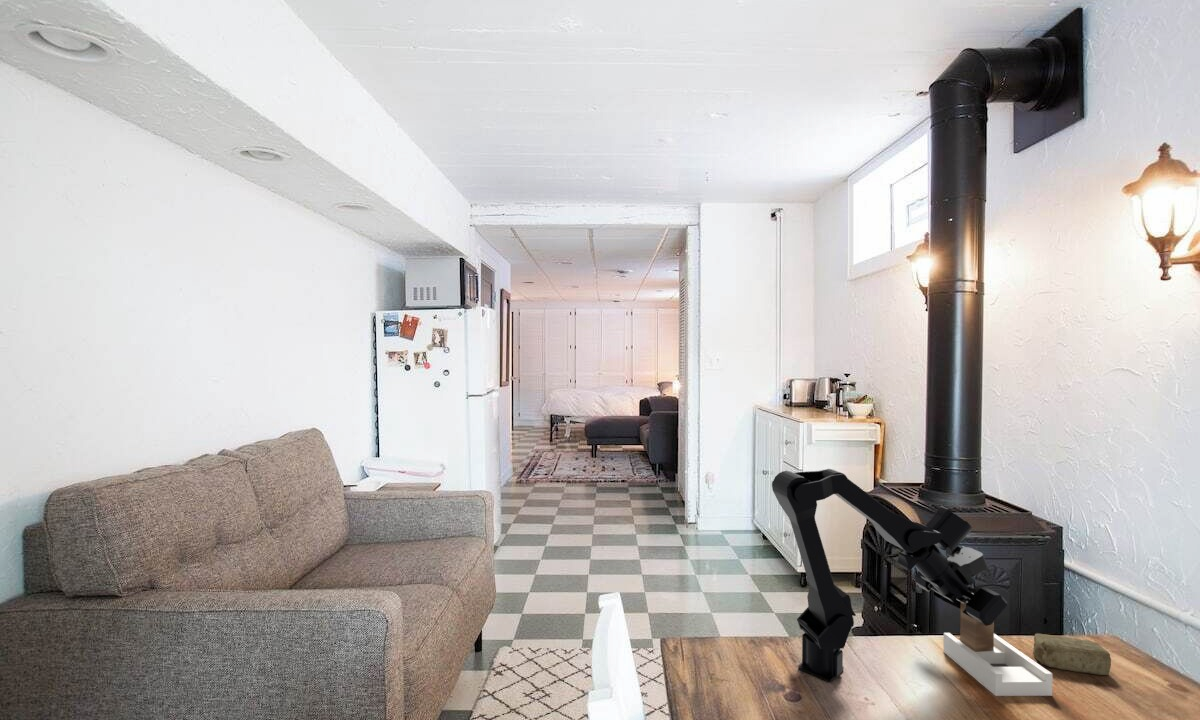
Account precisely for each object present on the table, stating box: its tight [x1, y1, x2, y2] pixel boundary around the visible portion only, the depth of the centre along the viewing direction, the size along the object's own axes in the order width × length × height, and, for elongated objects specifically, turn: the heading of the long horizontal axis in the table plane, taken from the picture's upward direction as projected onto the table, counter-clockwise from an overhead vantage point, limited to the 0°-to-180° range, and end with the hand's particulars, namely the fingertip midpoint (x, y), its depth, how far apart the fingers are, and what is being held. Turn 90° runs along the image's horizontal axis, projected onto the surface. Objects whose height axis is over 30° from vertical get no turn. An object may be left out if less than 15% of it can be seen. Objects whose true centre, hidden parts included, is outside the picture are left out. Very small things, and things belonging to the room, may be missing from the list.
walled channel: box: [942, 632, 1053, 697], centre depth 109 cm, size 10×15×4 cm
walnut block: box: [959, 593, 995, 652], centre depth 114 cm, size 4×4×11 cm
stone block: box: [1032, 633, 1112, 676], centre depth 111 cm, size 6×12×5 cm, turn 72°
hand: (983, 617), depth 114 cm, fingers closed on walnut block, 4 cm apart
